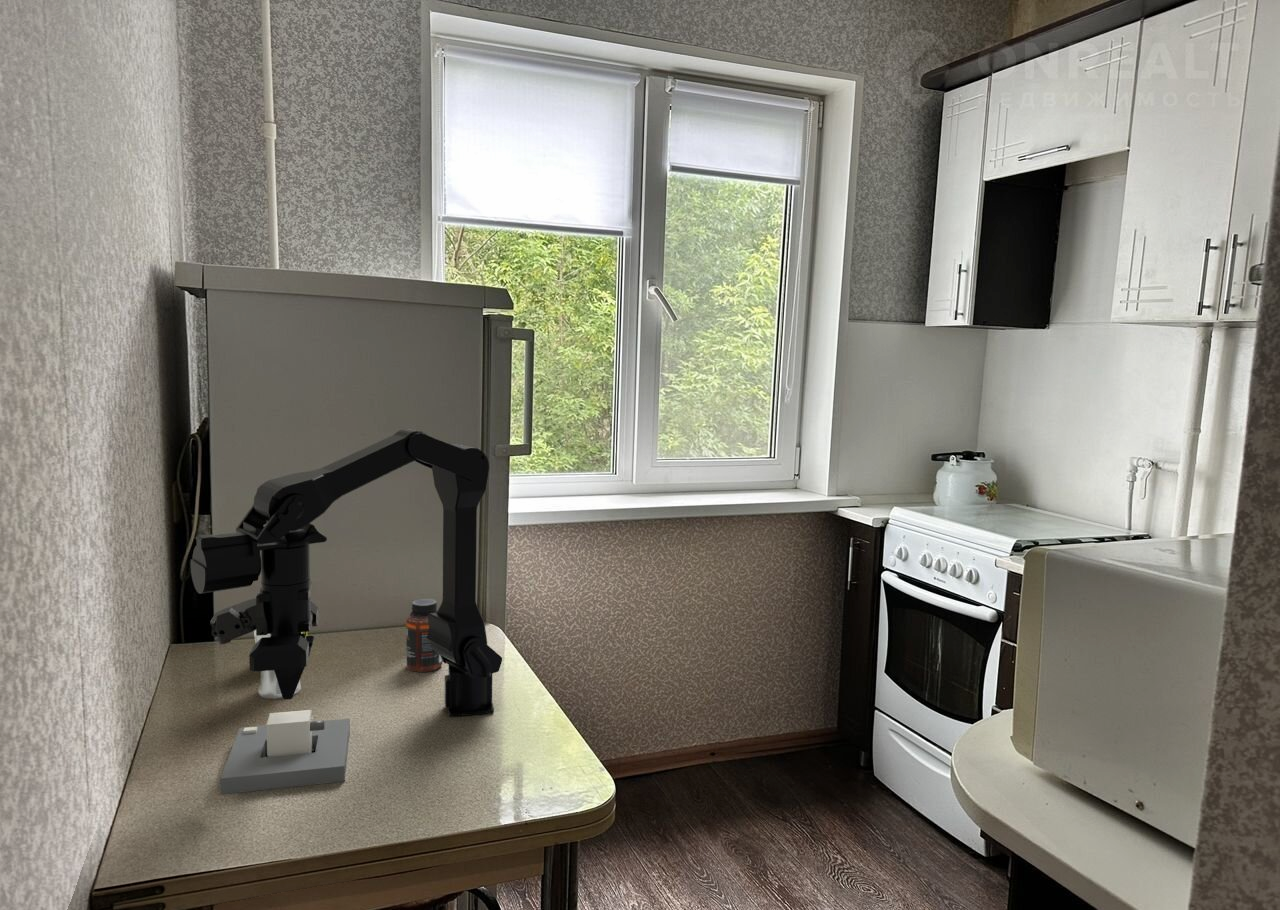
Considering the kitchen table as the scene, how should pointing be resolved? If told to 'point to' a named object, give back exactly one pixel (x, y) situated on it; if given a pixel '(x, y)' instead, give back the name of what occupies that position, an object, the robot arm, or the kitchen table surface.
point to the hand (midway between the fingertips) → (287, 698)
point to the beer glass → (270, 680)
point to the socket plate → (286, 760)
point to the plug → (291, 733)
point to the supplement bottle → (421, 637)
